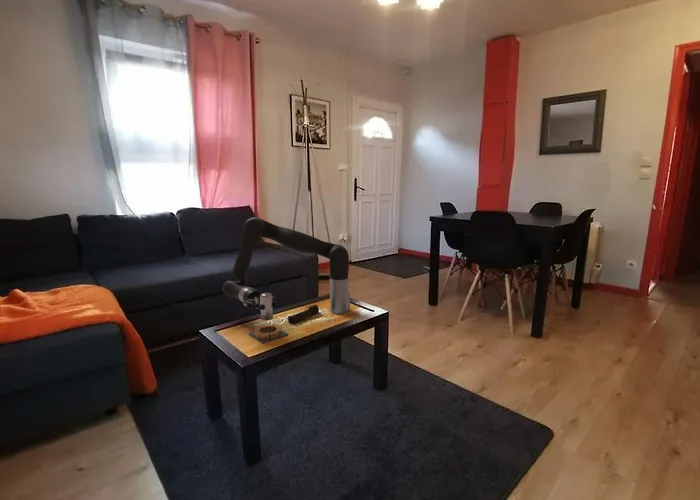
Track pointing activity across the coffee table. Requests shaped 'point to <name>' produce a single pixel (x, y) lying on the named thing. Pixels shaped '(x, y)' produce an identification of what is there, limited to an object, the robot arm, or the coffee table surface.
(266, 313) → the cylinder
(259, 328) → the ring plate
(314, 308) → the hand tool
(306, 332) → the coffee table surface
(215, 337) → the coffee table surface
